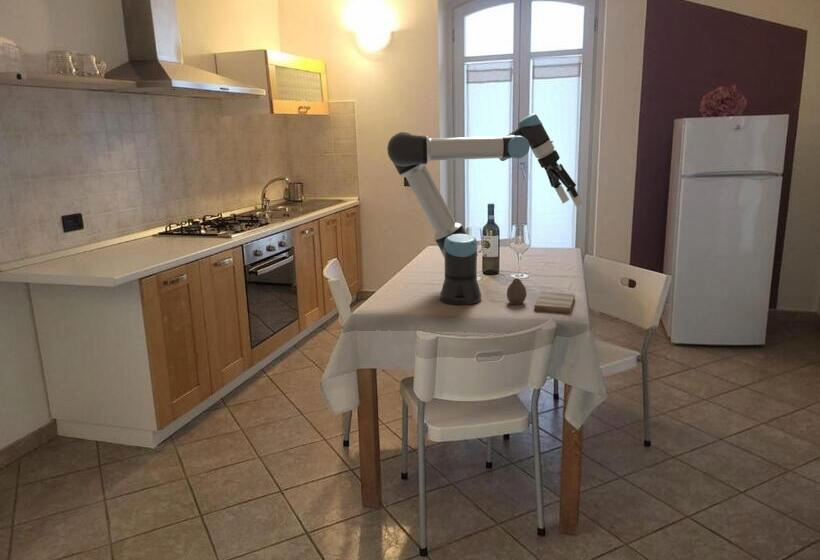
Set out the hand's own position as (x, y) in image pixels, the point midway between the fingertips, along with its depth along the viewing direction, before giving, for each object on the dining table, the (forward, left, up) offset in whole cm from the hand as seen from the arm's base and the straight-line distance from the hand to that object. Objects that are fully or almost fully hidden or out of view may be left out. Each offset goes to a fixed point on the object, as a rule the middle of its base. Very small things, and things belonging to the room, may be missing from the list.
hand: (572, 203), depth 233 cm
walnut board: (-23, -12, -33) cm, 42 cm away
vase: (-31, -2, -33) cm, 46 cm away
